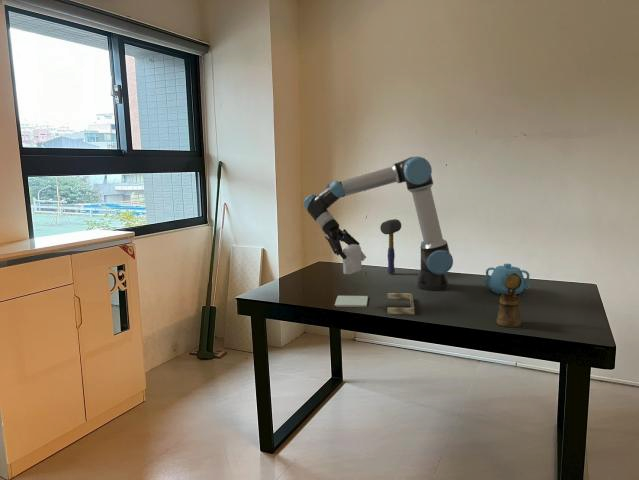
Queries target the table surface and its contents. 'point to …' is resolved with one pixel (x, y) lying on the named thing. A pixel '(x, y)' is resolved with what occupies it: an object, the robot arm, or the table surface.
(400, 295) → the frame
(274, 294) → the table surface
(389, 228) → the rubber mallet
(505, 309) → the brown wooden ornament
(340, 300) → the sage mat
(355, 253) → the grey upright block
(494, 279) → the decorative pot
